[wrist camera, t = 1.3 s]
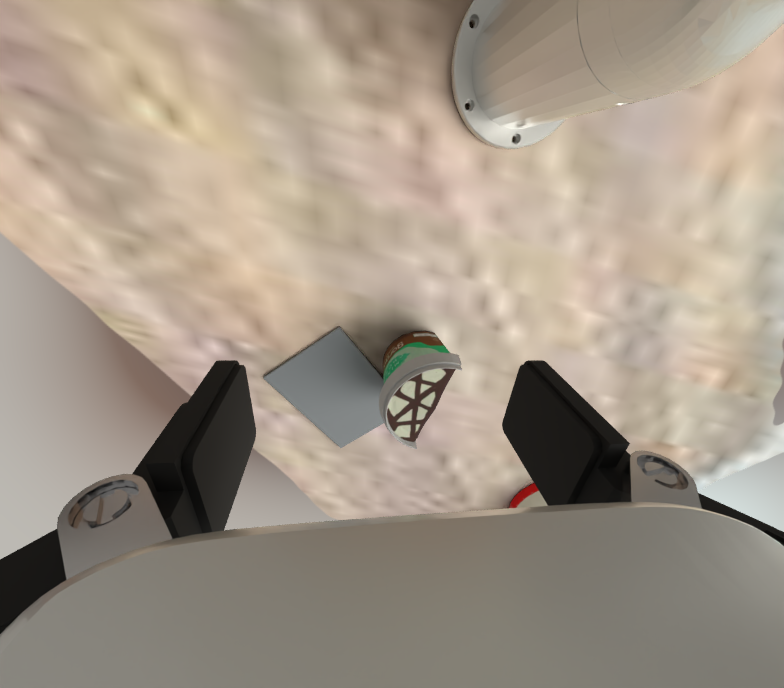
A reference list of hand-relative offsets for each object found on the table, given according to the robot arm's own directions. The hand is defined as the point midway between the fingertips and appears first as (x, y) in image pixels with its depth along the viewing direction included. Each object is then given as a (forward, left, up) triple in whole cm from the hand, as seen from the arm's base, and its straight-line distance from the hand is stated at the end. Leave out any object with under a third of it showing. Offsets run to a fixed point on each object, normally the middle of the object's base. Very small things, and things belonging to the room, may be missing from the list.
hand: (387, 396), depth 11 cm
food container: (+4, +15, -27) cm, 31 cm away
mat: (+14, +15, -27) cm, 33 cm away
